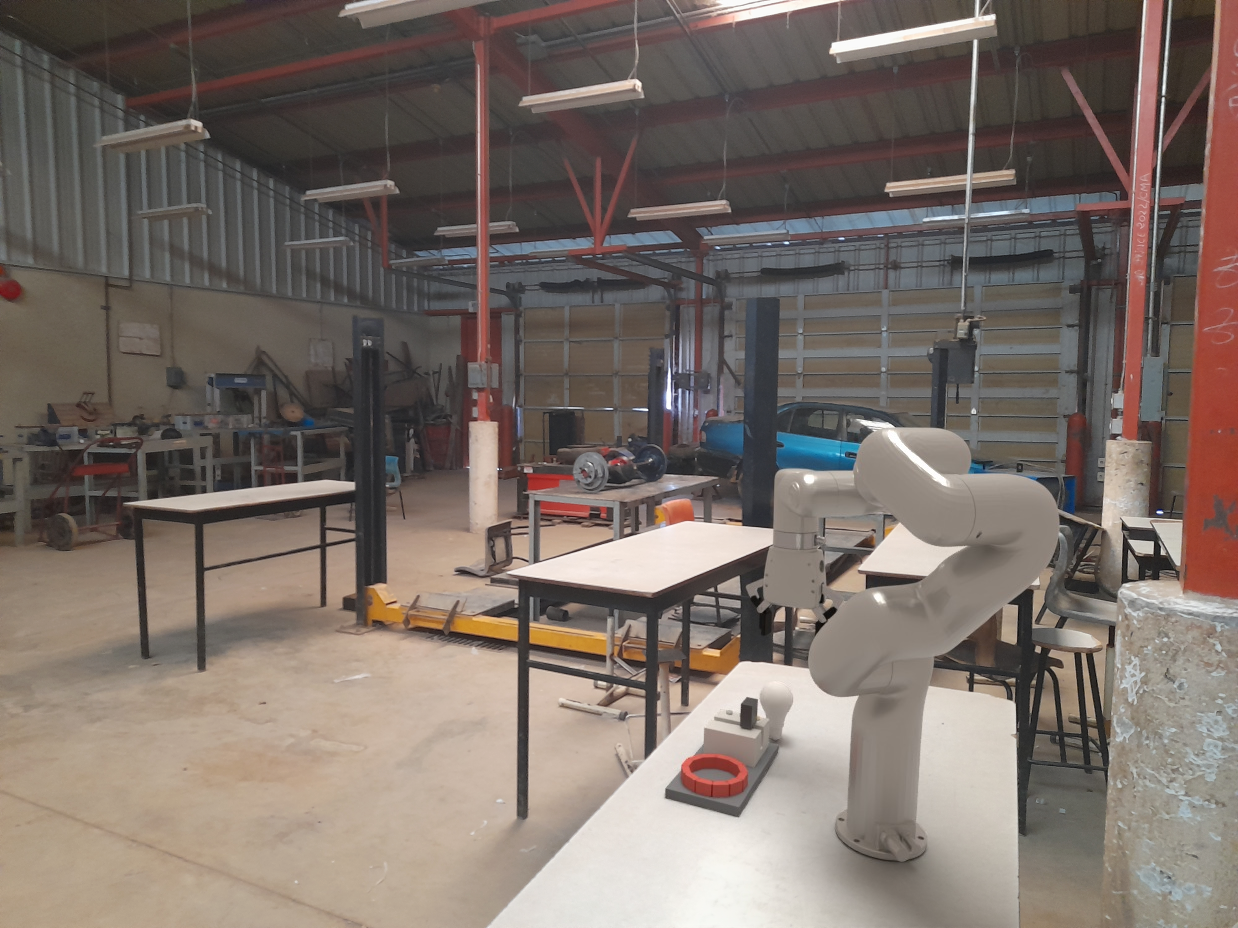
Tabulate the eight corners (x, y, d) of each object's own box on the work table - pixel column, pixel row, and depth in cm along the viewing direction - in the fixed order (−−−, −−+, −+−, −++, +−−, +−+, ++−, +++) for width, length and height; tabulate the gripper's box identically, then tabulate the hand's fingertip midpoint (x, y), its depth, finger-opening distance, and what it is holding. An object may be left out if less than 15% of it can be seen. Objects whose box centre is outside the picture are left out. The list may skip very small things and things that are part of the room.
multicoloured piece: (738, 816, 118) (740, 772, 117) (665, 797, 123) (666, 755, 122) (778, 752, 139) (780, 715, 139) (714, 738, 145) (715, 702, 144)
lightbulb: (789, 733, 148) (791, 677, 147) (793, 747, 141) (795, 689, 140) (756, 731, 148) (758, 675, 147) (759, 745, 142) (761, 687, 141)
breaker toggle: (750, 747, 133) (752, 706, 133) (739, 745, 134) (740, 703, 134) (756, 739, 137) (757, 698, 136) (745, 737, 138) (746, 696, 137)
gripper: (852, 542, 133) (848, 641, 134) (756, 533, 142) (754, 626, 143) (838, 548, 126) (835, 652, 127) (739, 538, 136) (737, 635, 137)
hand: (792, 638), depth 135 cm, fingers open, 9 cm apart
